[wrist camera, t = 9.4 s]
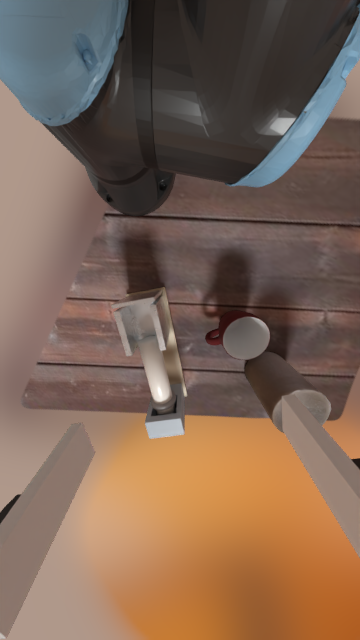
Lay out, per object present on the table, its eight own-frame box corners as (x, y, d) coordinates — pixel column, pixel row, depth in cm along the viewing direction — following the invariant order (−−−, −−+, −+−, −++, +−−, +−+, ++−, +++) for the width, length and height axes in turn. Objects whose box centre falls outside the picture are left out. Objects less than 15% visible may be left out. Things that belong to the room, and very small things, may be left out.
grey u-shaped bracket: (129, 295, 37) (111, 304, 28) (161, 289, 37) (153, 297, 28) (139, 335, 40) (126, 356, 31) (170, 330, 39) (165, 349, 30)
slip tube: (138, 337, 36) (131, 348, 31) (163, 333, 35) (160, 343, 30) (157, 408, 41) (154, 427, 36) (179, 405, 41) (179, 424, 36)
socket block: (153, 387, 44) (144, 422, 34) (181, 383, 43) (180, 418, 33) (157, 400, 45) (149, 438, 35) (184, 396, 44) (184, 434, 34)
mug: (212, 348, 41) (221, 373, 32) (196, 319, 39) (200, 336, 30) (255, 328, 40) (277, 348, 30) (240, 297, 38) (260, 307, 28)
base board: (126, 294, 38) (125, 294, 37) (164, 287, 37) (164, 287, 37) (155, 398, 46) (154, 400, 45) (187, 393, 45) (187, 396, 44)
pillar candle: (252, 391, 45) (286, 450, 30) (238, 360, 42) (267, 409, 28) (290, 376, 43) (344, 431, 29) (277, 344, 41) (330, 385, 26)
